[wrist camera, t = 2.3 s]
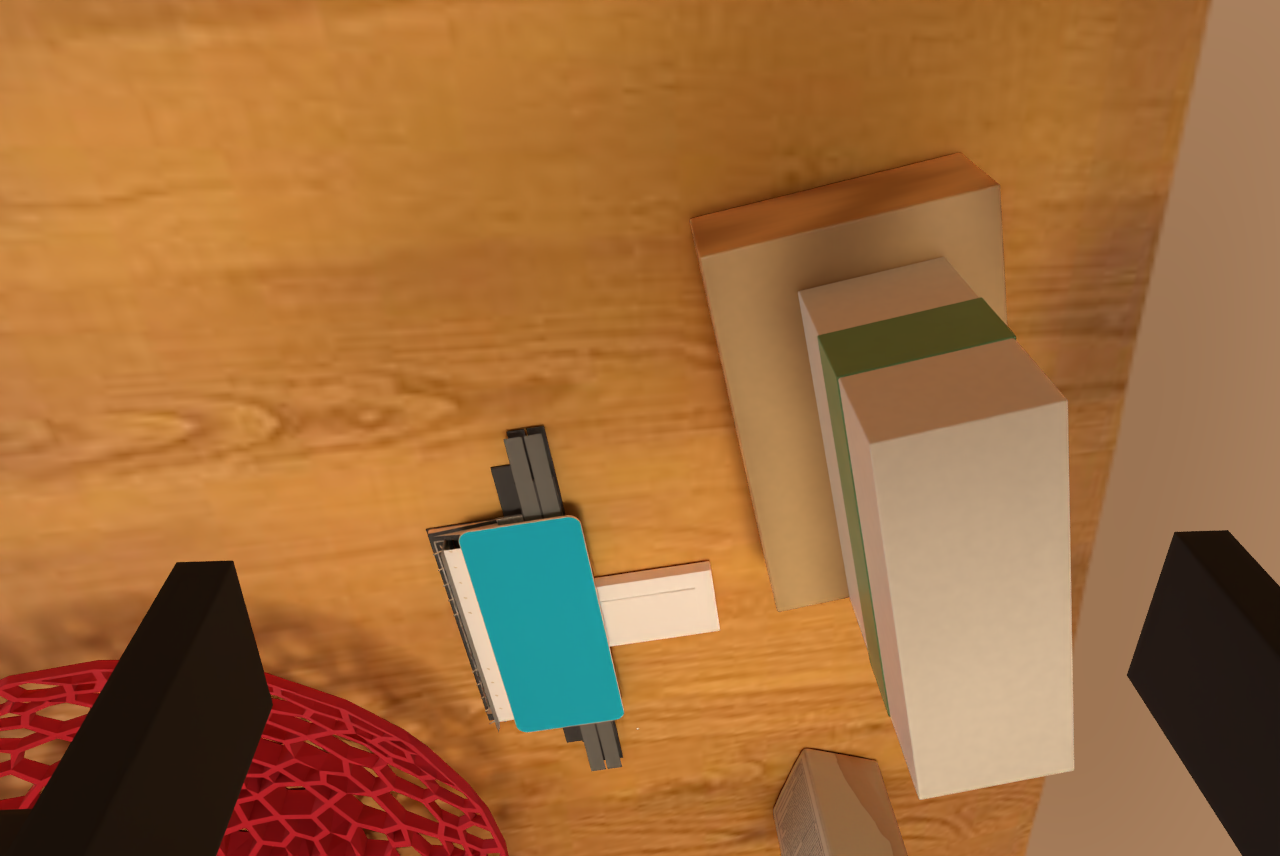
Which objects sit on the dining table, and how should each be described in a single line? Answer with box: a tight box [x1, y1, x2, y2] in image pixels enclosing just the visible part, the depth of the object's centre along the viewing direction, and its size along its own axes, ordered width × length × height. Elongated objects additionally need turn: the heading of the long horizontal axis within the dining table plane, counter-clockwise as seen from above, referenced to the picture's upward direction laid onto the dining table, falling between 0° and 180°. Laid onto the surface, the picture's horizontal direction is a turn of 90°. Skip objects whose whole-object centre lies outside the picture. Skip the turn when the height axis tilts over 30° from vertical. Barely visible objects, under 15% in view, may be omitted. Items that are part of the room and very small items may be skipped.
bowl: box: [0, 660, 508, 856], centre depth 49 cm, size 29×29×5 cm
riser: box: [690, 153, 1007, 612], centre depth 38 cm, size 10×16×4 cm, turn 13°
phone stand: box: [426, 426, 720, 771], centre depth 45 cm, size 20×12×2 cm, turn 9°
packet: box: [798, 257, 1074, 800], centre depth 32 cm, size 14×5×10 cm, turn 14°
